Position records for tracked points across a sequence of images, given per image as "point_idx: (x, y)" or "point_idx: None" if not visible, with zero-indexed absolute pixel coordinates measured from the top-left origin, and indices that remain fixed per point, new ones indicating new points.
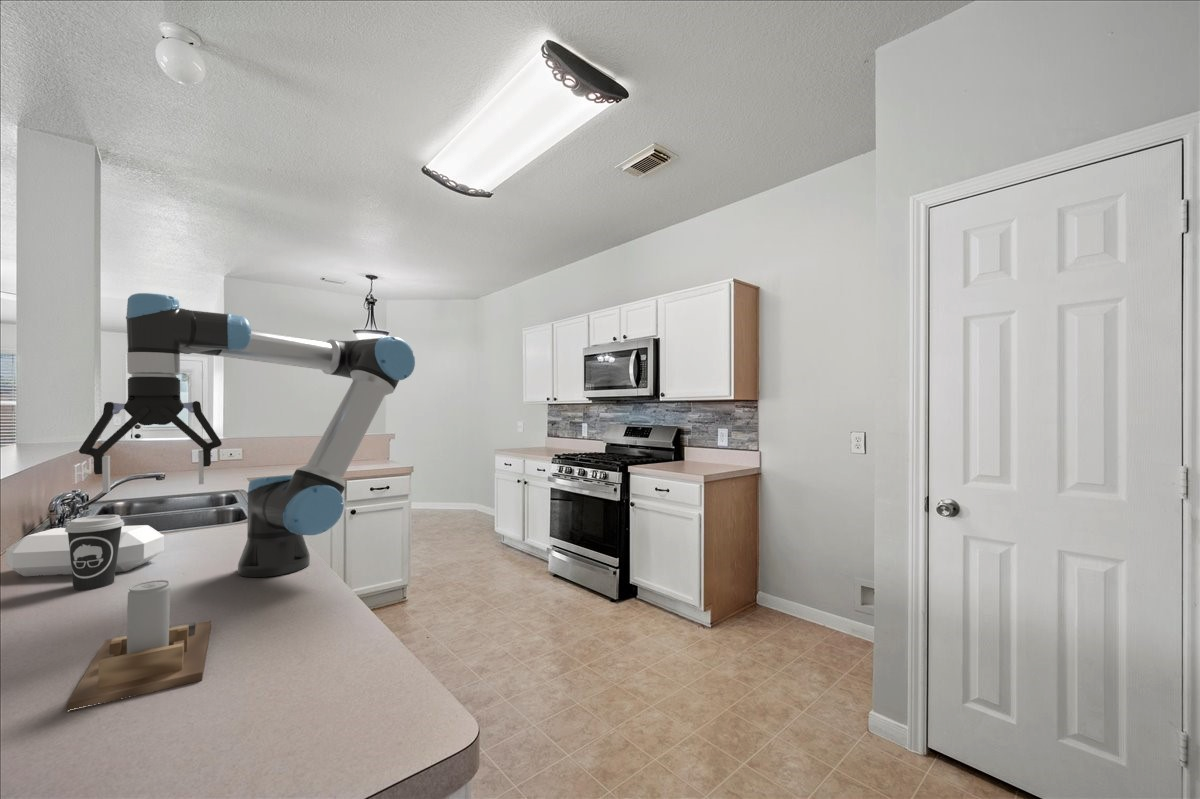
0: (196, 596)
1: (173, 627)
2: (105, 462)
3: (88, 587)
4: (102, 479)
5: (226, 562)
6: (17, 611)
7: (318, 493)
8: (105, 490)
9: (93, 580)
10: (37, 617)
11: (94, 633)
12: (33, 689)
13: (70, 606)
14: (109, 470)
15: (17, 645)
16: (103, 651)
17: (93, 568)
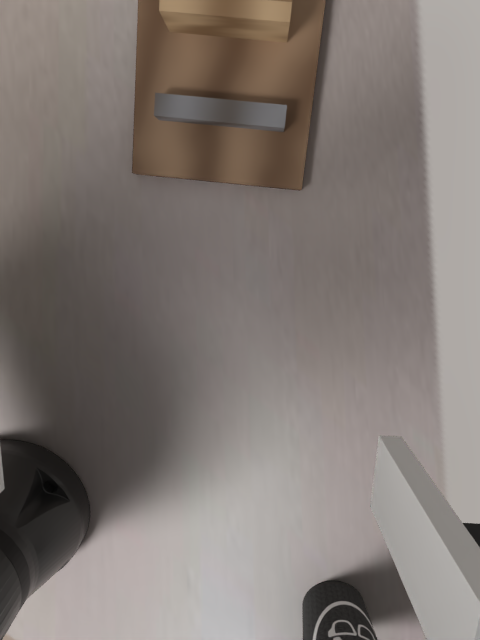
0: (163, 402)
1: (186, 12)
2: (471, 561)
3: (341, 584)
4: (431, 480)
5: (112, 611)
6: None
7: None
8: (394, 441)
9: (336, 594)
10: None
11: (320, 290)
12: (390, 42)
13: (362, 491)
14: (414, 573)
15: (425, 311)
16: (302, 119)
17: (341, 617)
